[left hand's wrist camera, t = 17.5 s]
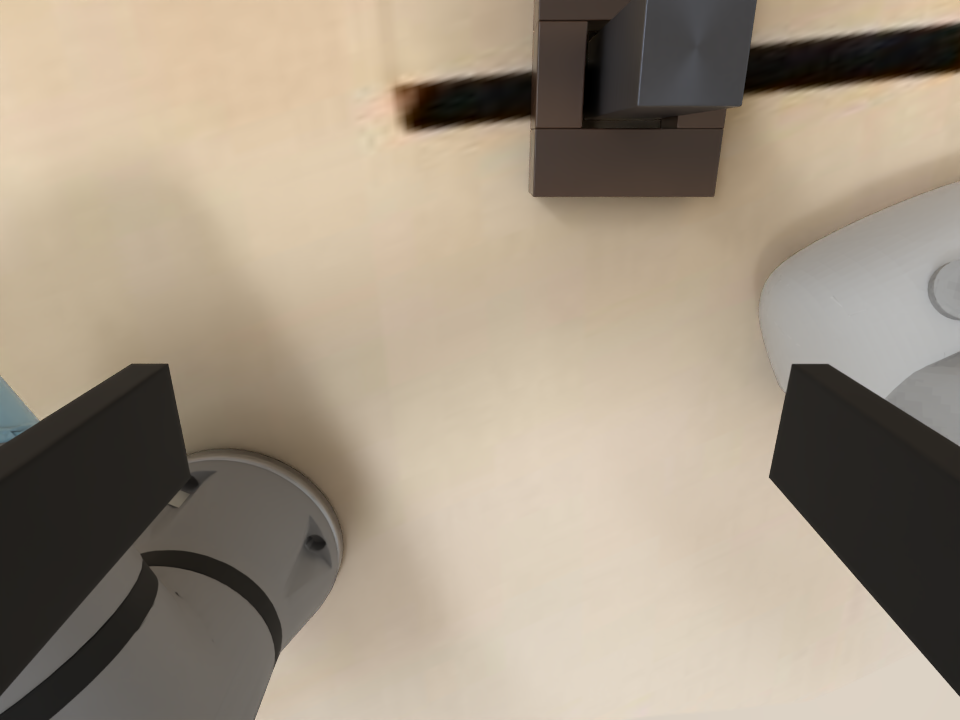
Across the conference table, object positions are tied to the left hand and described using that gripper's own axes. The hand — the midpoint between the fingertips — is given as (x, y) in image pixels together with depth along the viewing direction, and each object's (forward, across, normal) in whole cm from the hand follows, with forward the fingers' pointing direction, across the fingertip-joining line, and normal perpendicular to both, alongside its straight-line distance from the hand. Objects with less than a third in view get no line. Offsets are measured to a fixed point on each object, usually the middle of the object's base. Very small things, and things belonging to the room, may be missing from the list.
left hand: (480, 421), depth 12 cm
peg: (+25, -8, -9) cm, 27 cm away
